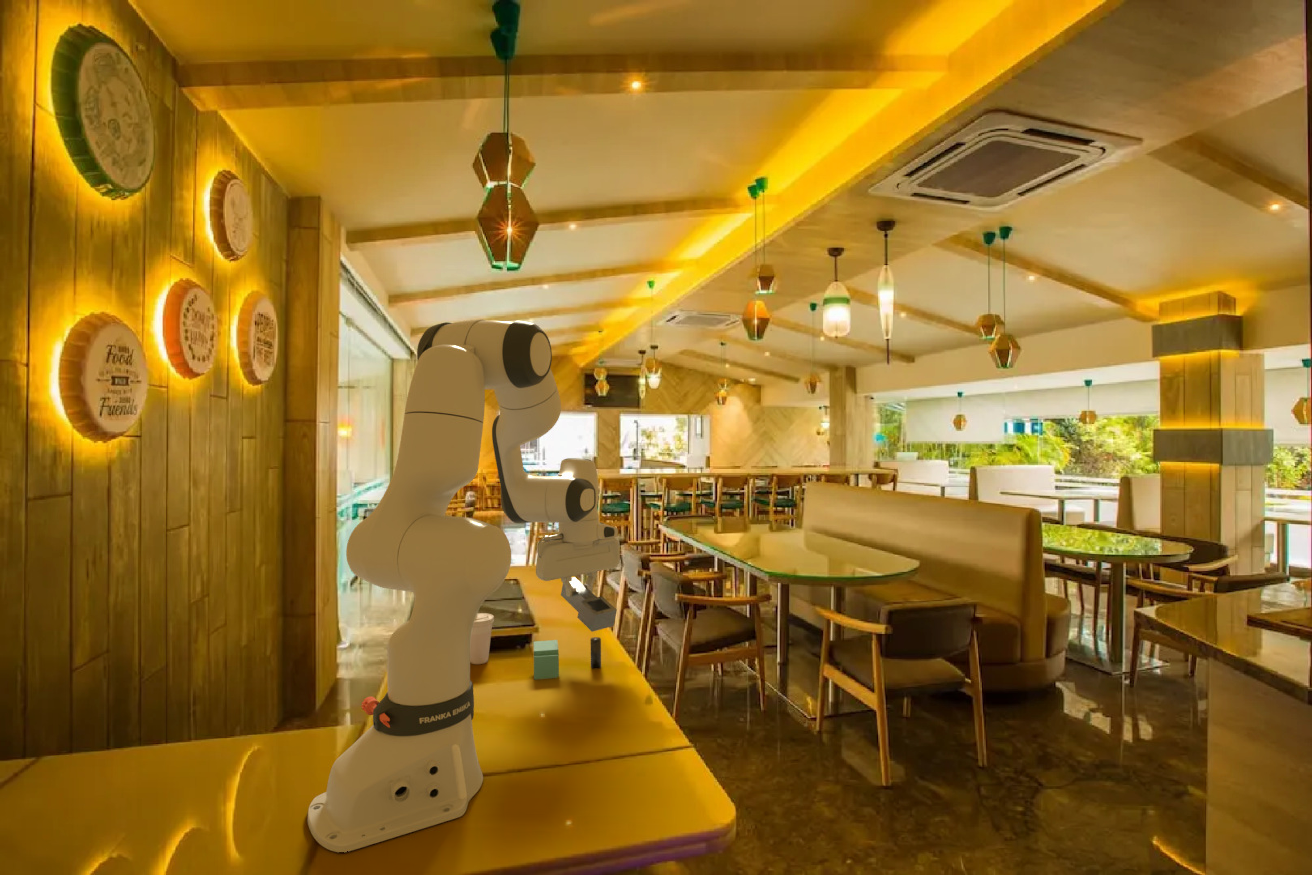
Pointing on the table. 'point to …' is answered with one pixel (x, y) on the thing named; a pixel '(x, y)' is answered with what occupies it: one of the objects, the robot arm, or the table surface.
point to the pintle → (595, 653)
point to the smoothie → (481, 638)
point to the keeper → (546, 659)
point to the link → (590, 607)
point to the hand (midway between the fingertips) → (579, 593)
